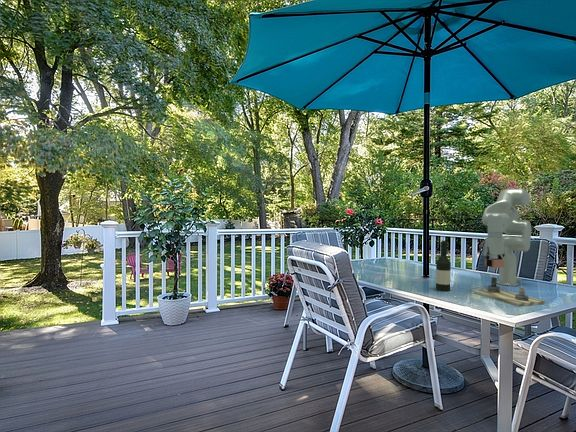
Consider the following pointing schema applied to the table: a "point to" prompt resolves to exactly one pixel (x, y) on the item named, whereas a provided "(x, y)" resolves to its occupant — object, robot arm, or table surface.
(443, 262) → the wine bottle
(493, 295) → the board
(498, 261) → the collar
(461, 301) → the table surface
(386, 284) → the table surface
